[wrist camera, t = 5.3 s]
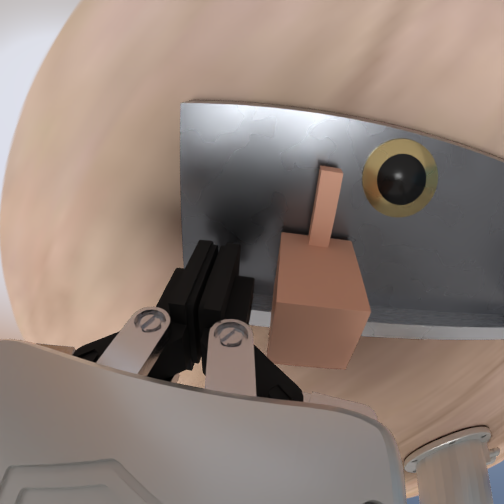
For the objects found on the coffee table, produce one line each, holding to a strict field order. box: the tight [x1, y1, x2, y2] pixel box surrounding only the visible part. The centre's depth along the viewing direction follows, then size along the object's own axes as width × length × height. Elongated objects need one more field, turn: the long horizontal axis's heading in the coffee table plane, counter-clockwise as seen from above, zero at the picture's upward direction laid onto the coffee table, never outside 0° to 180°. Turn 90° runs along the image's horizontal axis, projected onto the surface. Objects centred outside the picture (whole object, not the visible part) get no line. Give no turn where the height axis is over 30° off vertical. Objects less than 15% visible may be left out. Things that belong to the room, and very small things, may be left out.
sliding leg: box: [267, 166, 371, 369], centre depth 11 cm, size 3×6×4 cm, turn 176°
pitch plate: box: [180, 100, 504, 340], centre depth 11 cm, size 24×10×6 cm, turn 86°
